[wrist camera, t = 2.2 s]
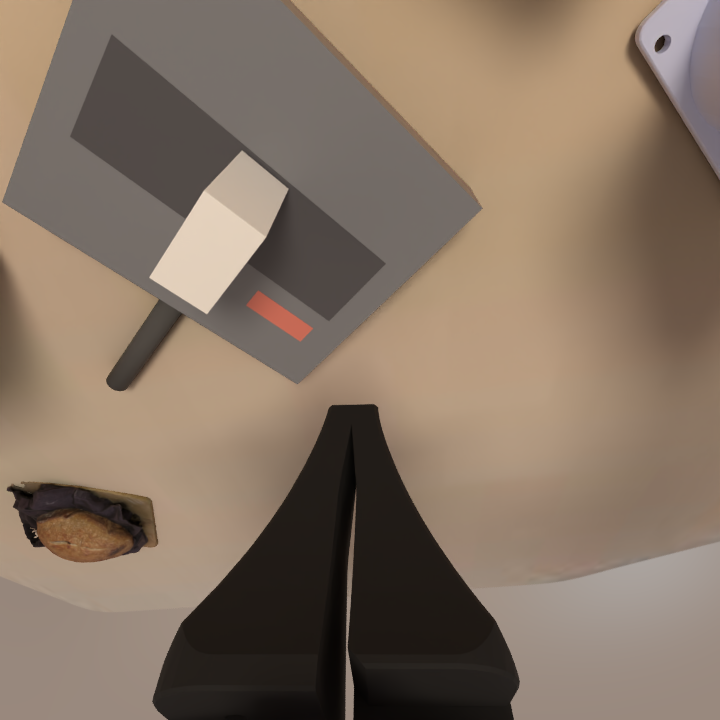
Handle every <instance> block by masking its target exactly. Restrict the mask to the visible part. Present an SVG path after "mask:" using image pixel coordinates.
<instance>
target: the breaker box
mask: <svg viewBox="0 0 720 720" xmlns="http://www.w3.org/2000/svg"><path fill="white" fill-rule="evenodd" d="M241 151H243V152H245V153H246V154H247V155H248V156H249V157H251V158H252V159H253V160H254V161H256V162H257V163H258V164H259V165H260V166H262V167H263V168H264V169H265V170H266V171H268V172H269V173H270V174H271V175H272V176H274V177H275V178H276V179H277V180H278V181H280V182H281V183H282V184H283V185H284V186H286V187H287V188H288V191H287V194H286V196H285V198H284V200H283V202H282V204H281V206H280V209H279V211H278V213H277V215H276V217H275V219H274V222H273V224H272V226H271V228H270V230H269V232H268V234H267V237H266V238H265V239H264V241H263V242H262V243H261V245H260V246H259V247H258V249H257V250H256V251H255V252H254V254H253V255H252V256H251V258H250V259H249V260H248V262H247V263H246V264H245V265H244V267H243V268H242V269H241V271H240V272H239V273H238V275H237V276H236V277H235V278H234V280H233V281H232V282H231V284H230V285H229V286H228V288H227V289H226V290H225V291H224V293H223V294H222V295H221V297H220V298H219V299H218V301H217V302H216V303H215V304H214V306H213V307H212V308H211V310H210V311H209V312H208V314H206V313H204V312H202V311H201V310H199V309H198V308H196V307H195V306H193V305H191V304H190V303H188V302H187V301H185V300H183V299H182V298H180V297H179V296H177V295H176V294H174V293H172V292H171V291H169V290H168V289H166V288H164V287H163V286H161V285H160V284H158V283H157V282H155V281H153V280H152V279H150V278H149V277H150V275H151V274H152V272H153V271H154V269H155V267H156V266H157V264H158V263H159V261H160V260H161V258H162V256H163V255H164V253H165V252H166V250H167V248H168V247H169V245H170V244H171V242H172V240H173V239H174V237H175V236H176V234H177V233H178V231H179V229H180V228H181V226H182V225H183V223H184V221H185V220H186V218H187V217H188V215H189V213H190V212H191V210H192V209H193V207H194V206H195V204H196V202H197V201H198V199H199V198H200V196H201V194H202V193H203V191H204V190H205V189H206V188H207V187H208V186H209V185H210V184H211V183H212V181H213V180H214V179H215V178H216V177H217V176H218V175H219V174H220V173H221V172H222V171H223V170H224V169H225V168H226V167H227V166H228V165H229V164H230V163H231V162H232V160H233V159H234V158H235V157H236V156H237V155H238V154H239V153H240V152H241ZM2 202H3V203H4V204H6V205H7V206H9V207H11V208H12V209H14V210H16V211H17V212H19V213H20V214H22V215H24V216H25V217H27V218H29V219H30V220H32V221H33V222H35V223H37V224H38V225H40V226H42V227H43V228H45V229H46V230H48V231H50V232H51V233H53V234H54V235H56V236H58V237H59V238H61V239H63V240H64V241H66V242H67V243H69V244H71V245H72V246H74V247H76V248H77V249H79V250H80V251H82V252H84V253H85V254H87V255H89V256H90V257H92V258H93V259H95V260H97V261H98V262H100V263H102V264H103V265H105V266H106V267H108V268H110V269H111V270H113V271H114V272H116V273H118V274H119V275H121V276H123V277H124V278H126V279H127V280H129V281H131V282H132V283H134V284H136V285H137V286H139V287H140V288H142V289H144V290H145V291H147V292H149V293H150V294H152V295H153V296H155V297H157V298H158V299H160V300H162V301H163V302H165V303H166V304H168V305H170V306H171V307H173V308H175V309H176V310H178V311H179V312H181V313H183V314H184V315H186V316H187V317H189V318H191V319H192V320H194V321H196V322H197V323H199V324H200V325H202V326H204V327H205V328H207V329H209V330H210V331H212V332H213V333H215V334H217V335H218V336H220V337H222V338H223V339H225V340H226V341H228V342H230V343H231V344H233V345H235V346H236V347H238V348H239V349H241V350H243V351H244V352H246V353H247V354H249V355H251V356H252V357H254V358H256V359H257V360H259V361H260V362H262V363H264V364H265V365H267V366H269V367H270V368H272V369H273V370H275V371H277V372H278V373H280V374H282V375H283V376H285V377H286V378H288V379H290V380H291V381H293V382H295V383H296V384H298V383H300V382H301V381H302V380H303V379H304V378H305V377H306V376H307V375H308V374H309V373H310V372H311V371H312V370H313V369H314V368H315V367H316V366H317V365H318V364H320V363H321V362H322V361H323V360H324V359H325V358H326V357H327V356H328V355H329V354H330V353H331V352H332V351H333V350H334V349H335V348H336V347H337V346H338V345H339V344H341V343H342V342H343V341H344V340H345V339H346V338H347V337H348V336H349V335H350V334H351V333H352V332H353V331H354V330H355V329H356V328H357V327H358V326H359V325H361V324H362V323H363V322H364V321H365V320H366V319H367V318H368V317H369V316H370V315H371V314H372V313H373V312H374V311H375V310H376V309H377V308H378V307H379V306H381V305H382V304H383V303H384V302H385V301H386V300H387V299H388V298H389V297H390V296H391V295H392V294H393V293H394V292H395V291H396V290H397V289H398V288H399V287H400V286H402V285H403V284H404V283H405V282H406V281H407V280H408V279H409V278H410V277H411V276H412V275H413V274H414V273H415V272H416V271H417V270H418V269H419V268H420V267H422V266H423V265H424V264H425V263H426V262H427V261H428V260H429V259H430V258H431V257H432V256H433V255H434V254H435V253H436V252H437V251H438V250H439V249H440V248H442V247H443V246H444V245H445V244H446V243H447V242H448V241H449V240H450V239H451V238H452V237H453V236H454V235H455V234H456V233H457V232H458V231H459V230H460V229H461V228H463V227H464V226H465V225H466V224H467V223H468V222H469V221H470V220H471V219H472V218H473V217H474V216H475V215H476V214H477V213H478V212H479V211H480V210H481V209H483V208H482V207H481V205H480V203H479V202H478V200H477V198H476V197H475V195H474V193H473V192H472V190H471V188H470V187H469V186H468V185H467V184H466V183H465V182H464V181H463V180H462V179H461V178H460V177H459V176H458V175H457V174H456V173H455V172H454V171H453V169H452V168H451V167H450V166H449V165H448V164H447V163H446V162H445V161H444V160H443V159H442V158H441V157H440V156H439V155H438V154H437V153H436V152H435V151H434V150H433V149H432V148H431V147H430V146H429V144H428V143H427V142H426V141H425V140H424V139H423V138H422V137H421V136H420V135H419V134H418V133H417V132H416V131H415V130H414V129H413V128H412V127H411V126H410V125H409V124H408V123H407V122H406V121H405V120H404V118H403V117H402V116H401V115H400V114H399V113H398V112H397V111H396V110H395V109H394V108H393V107H392V106H391V105H390V104H389V103H388V102H387V101H386V100H385V99H384V98H383V97H382V96H381V95H380V93H379V92H378V91H377V90H376V89H375V88H374V87H373V86H372V85H371V84H370V83H369V82H368V81H367V80H366V79H365V78H364V77H363V76H362V75H361V74H360V73H359V72H358V71H357V70H356V68H355V67H354V66H353V65H352V64H351V63H350V62H349V61H348V60H347V59H346V58H345V57H344V56H343V55H342V54H341V53H340V52H339V51H338V50H337V49H336V48H335V47H334V46H333V45H332V44H331V42H330V41H329V40H328V39H327V38H326V37H325V36H324V35H323V34H322V33H321V32H320V31H319V30H318V29H317V28H316V27H315V26H314V25H313V24H312V23H311V22H310V21H309V20H308V19H307V17H306V16H305V15H304V14H303V13H302V12H301V11H300V10H299V9H298V8H297V7H296V6H295V5H294V4H293V3H292V2H291V1H290V0H73V1H72V4H71V7H70V10H69V12H68V15H67V18H66V21H65V24H64V27H63V30H62V32H61V35H60V38H59V41H58V44H57V47H56V50H55V52H54V55H53V58H52V61H51V64H50V67H49V70H48V73H47V75H46V78H45V81H44V84H43V87H42V90H41V93H40V95H39V98H38V101H37V104H36V107H35V110H34V113H33V115H32V118H31V121H30V124H29V127H28V130H27V133H26V136H25V138H24V141H23V144H22V147H21V150H20V153H19V156H18V158H17V161H16V164H15V167H14V170H13V173H12V176H11V178H10V181H9V184H8V187H7V190H6V193H5V196H4V199H3V201H2Z"/></svg>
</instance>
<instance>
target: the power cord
mask: <svg viewBox="0 0 720 720" xmlns="http://www.w3.org/2000/svg"><path fill="white" fill-rule="evenodd" d="M180 315H181V312H179V311H178V310H176V309H175V308H173V307H171V306H170V305H168V304H166V303H165V302H163V301H162V300H160V299H159V301H158V302H157V304H156V305H155V307H154V308H153V310H152V311H151V313H150V314H149V316H148V317H147V319H146V320H145V322H144V323H143V325H142V326H141V328H140V329H139V331H138V332H137V334H136V335H135V337H134V338H133V340H132V341H131V343H130V344H129V346H128V347H127V349H126V350H125V352H124V353H123V355H122V356H121V358H120V359H119V361H118V362H117V363H116V365H115V366H114V368H113V369H112V371H111V372H110V374H109V375H108V377H107V379H106V382H107V384H108V386H109V387H110V388H112V389H113V390H116V391H124V390H126V389H127V388H128V387H129V385H130V384H131V382H132V381H133V380H134V378H135V377H136V376H137V374H138V373H139V371H140V370H141V369H142V367H143V366H144V365H145V363H146V362H147V360H148V359H149V358H150V356H151V355H152V353H153V352H154V351H155V349H156V348H157V347H158V345H159V344H160V342H161V341H162V340H163V338H164V337H165V336H166V334H167V333H168V331H169V330H170V329H171V327H172V326H173V324H174V323H175V322H176V320H177V319H178V318H179V316H180Z"/></svg>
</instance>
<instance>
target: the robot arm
mask: <svg viewBox="0 0 720 720" xmlns="http://www.w3.org/2000/svg"><path fill="white" fill-rule="evenodd" d="M662 35H663V36H664V37H665V43H664V46H663V47H662V48H661V50H659V51H658V52H655V49H654V46H655V43H656V41H657V40H658V38H659V37H661V36H662ZM635 42H636V45H637V47H638V48H639V50H640V52H641V53H642V55H643V57H644V58H645V60H646V61H647V63H648V65H649V66H650V68H651V70H652V71H653V73H654V74H655V76H656V78H657V79H658V81H659V82H660V84H661V86H662V87H663V89H664V91H665V92H666V94H667V95H668V97H669V99H670V100H671V102H672V104H673V105H674V107H675V108H676V110H677V112H678V113H679V115H680V116H681V118H682V120H683V121H684V123H685V125H686V126H687V128H688V129H689V131H690V133H691V134H692V136H693V138H694V139H695V141H696V142H697V144H698V146H699V147H700V149H701V150H702V152H703V154H704V155H705V157H706V159H707V160H708V162H709V163H710V165H711V167H712V168H713V170H714V171H715V173H716V175H717V176H718V178H719V180H720V0H663V1H662V2H661V3H660V4H659V5H658V6H657V7H656V8H655V9H654V10H653V11H652V12H651V13H650V14H649V15H648V16H647V17H646V18H645V19H644V20H643V21H642V22H641V23H640V25H639V26H638V28H637V31H636V33H635ZM355 492H356V520H355V541H354V560H353V577H352V594H351V609H350V623H349V637H348V652H349V658H350V664H351V670H352V676H353V683H354V718H353V720H514V718H513V714H512V709H511V704H510V702H511V700H512V699H513V697H514V695H515V693H516V692H517V690H518V688H519V682H520V681H519V677H518V673H517V670H516V667H515V664H514V661H513V658H512V655H511V653H510V650H509V648H508V646H507V644H506V642H505V639H504V638H503V635H502V633H501V631H500V629H499V627H498V625H497V623H496V621H495V619H494V618H493V617H492V616H491V614H490V613H489V612H488V611H487V610H486V609H485V607H484V606H483V605H482V604H481V602H480V601H479V600H478V599H477V597H476V596H475V595H474V593H473V592H472V591H471V590H470V588H469V587H468V586H467V584H466V583H465V582H464V580H463V579H462V578H461V576H460V575H459V574H458V572H457V571H456V570H455V568H454V567H453V565H452V564H451V562H450V561H449V560H448V558H447V557H446V555H445V554H444V552H443V551H442V549H441V548H440V546H439V545H438V543H437V542H436V540H435V539H434V537H433V536H432V534H431V533H430V531H429V529H428V528H427V526H426V524H425V523H424V521H423V519H422V518H421V516H420V514H419V512H418V511H417V509H416V507H415V505H414V503H413V502H412V500H411V498H410V496H409V494H408V492H407V490H406V488H405V486H404V484H403V482H402V480H401V478H400V475H399V473H398V471H397V469H396V466H395V464H394V461H393V459H392V456H391V454H390V451H389V449H388V446H387V443H386V440H385V437H384V434H383V431H382V427H381V423H380V419H379V413H378V407H377V406H376V405H374V404H367V405H332V406H331V407H330V408H329V409H328V413H327V416H326V419H325V422H324V425H323V427H322V430H321V432H320V434H319V437H318V439H317V441H316V444H315V446H314V448H313V450H312V452H311V454H310V456H309V458H308V460H307V462H306V464H305V466H304V468H303V470H302V471H301V473H300V475H299V477H298V478H297V480H296V482H295V484H294V485H293V487H292V489H291V490H290V492H289V494H288V495H287V497H286V499H285V500H284V502H283V503H282V505H281V506H280V508H279V509H278V511H277V512H276V514H275V515H274V517H273V518H272V519H271V521H270V522H269V524H268V525H267V526H266V528H265V529H264V530H263V532H262V533H261V534H260V536H259V537H258V538H257V540H256V541H255V542H254V544H253V545H252V546H251V547H250V549H249V550H248V551H247V552H246V554H245V555H244V556H243V557H242V558H241V559H240V561H239V562H238V563H237V564H236V565H235V566H234V568H233V569H232V570H231V571H230V572H229V573H228V575H227V576H226V577H225V578H224V579H223V580H222V581H221V583H220V584H219V585H218V586H217V587H216V588H215V589H214V590H213V591H212V592H211V593H210V594H209V595H208V596H207V597H206V598H205V599H204V600H203V601H202V602H201V603H200V604H199V605H198V606H197V608H196V609H195V610H194V611H193V612H192V613H191V614H190V615H189V616H188V617H187V618H186V619H185V620H184V621H183V622H182V623H181V625H180V627H179V629H178V631H177V633H176V635H175V638H174V640H173V642H172V645H171V647H170V649H169V651H168V653H167V656H166V658H165V661H164V664H163V667H162V670H161V673H160V677H159V680H158V683H157V687H156V690H155V693H154V696H153V701H152V702H153V704H154V706H155V707H156V709H157V710H158V712H160V713H161V714H162V715H163V716H164V717H165V718H167V719H168V720H345V682H346V681H345V680H346V679H345V678H346V614H347V613H346V612H347V609H346V608H347V570H348V556H349V547H350V538H351V529H352V520H353V511H354V501H355Z"/></svg>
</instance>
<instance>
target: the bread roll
mask: <svg viewBox="0 0 720 720" xmlns="http://www.w3.org/2000/svg"><path fill="white" fill-rule="evenodd" d="M23 483H24V485H25V487H24V488H22V487H18V486H15V485H14V484H12V485H11V486H10V487H8V488H7V491H10V492H13V494H14V496H15V499H16V501H15V504H14V506H13V507H14V508H15V509H17V510H18V511H19V516H20V518H21V522H22V523H23V527H24V530H25V534H26V536H27V538H28V539H29V540H31V541H30V542H31V544H32V545H33V547H46V548H48V549H49V550H50V551H51V552H52V553H53V554H55V555H57V556H59V557H61V558H63V559H66V560H70V561H74V562H83V563H84V562H97V561H103V560H107V559H111V558H115V557H118V556H121V555H126V554H129V553H136V552H138V551H140V549H141V548H142V547H143V546H144V547H155V546H157V544H158V539H157V533H156V525H155V519H154V512H153V506H152V501H151V499H149V498H147V497H143V496H138V495H133V494H127V493H120V492H115V491H108V490H102V489H96V488H88V487H82V486H73V485H63V484H53V483H43V482H21V484H23ZM28 492H30V493H32V494H29V493H28ZM30 527H31V528H35V530H37V534H38V537H37V538H34V536H36V535H35V532H33V533H32V531H33V530H34V529H30Z"/></svg>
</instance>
